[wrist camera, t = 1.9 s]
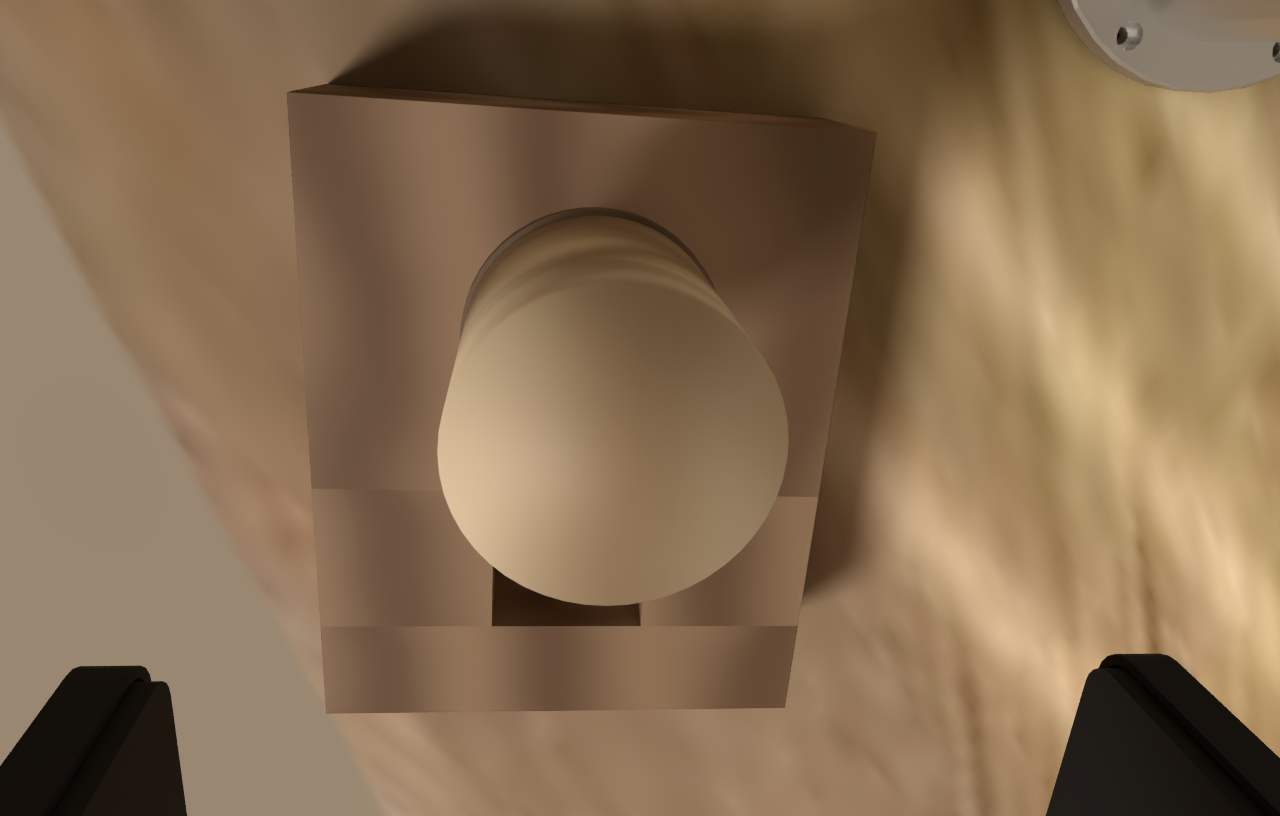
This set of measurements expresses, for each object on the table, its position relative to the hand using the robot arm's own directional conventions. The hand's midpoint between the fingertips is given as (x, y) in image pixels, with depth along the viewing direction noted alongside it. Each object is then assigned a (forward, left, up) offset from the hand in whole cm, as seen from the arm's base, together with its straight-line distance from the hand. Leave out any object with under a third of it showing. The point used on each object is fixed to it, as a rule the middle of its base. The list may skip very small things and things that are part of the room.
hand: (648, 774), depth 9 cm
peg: (0, 0, -19) cm, 19 cm away
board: (0, +5, -24) cm, 24 cm away
